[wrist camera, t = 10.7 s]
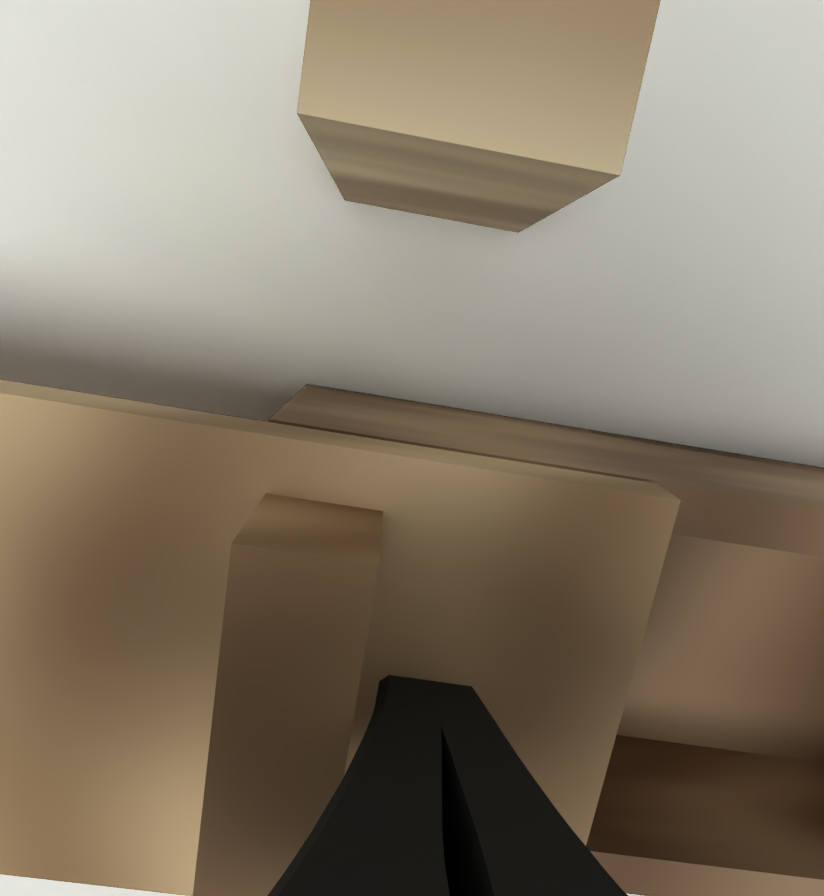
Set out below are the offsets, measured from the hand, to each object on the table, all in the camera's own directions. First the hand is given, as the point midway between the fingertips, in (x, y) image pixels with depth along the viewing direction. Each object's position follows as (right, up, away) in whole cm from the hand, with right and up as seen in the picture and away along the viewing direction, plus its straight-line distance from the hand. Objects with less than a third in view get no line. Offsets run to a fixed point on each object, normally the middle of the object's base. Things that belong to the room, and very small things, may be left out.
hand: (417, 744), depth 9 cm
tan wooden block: (+1, +10, +4) cm, 11 cm away
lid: (-4, +1, +1) cm, 5 cm away
